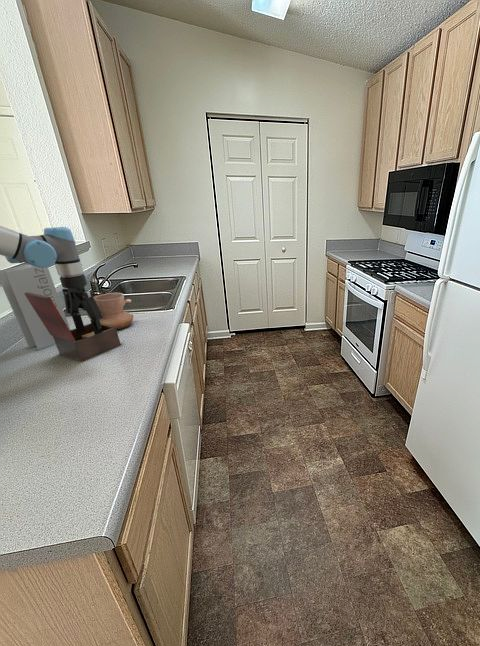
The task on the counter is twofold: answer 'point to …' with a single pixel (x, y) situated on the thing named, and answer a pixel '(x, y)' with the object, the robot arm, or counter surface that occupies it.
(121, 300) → the ceramic jug
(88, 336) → the block
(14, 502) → the counter surface
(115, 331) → the book box
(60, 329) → the cover
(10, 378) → the counter surface
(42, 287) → the white lettered carton
